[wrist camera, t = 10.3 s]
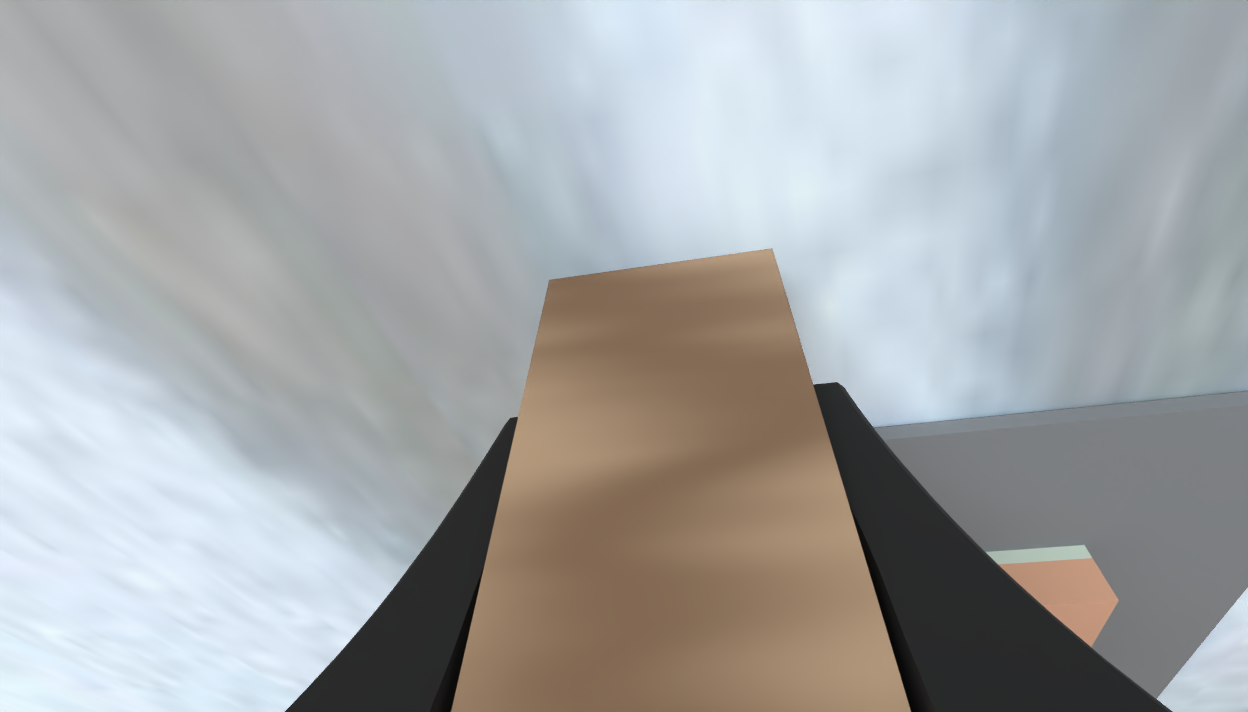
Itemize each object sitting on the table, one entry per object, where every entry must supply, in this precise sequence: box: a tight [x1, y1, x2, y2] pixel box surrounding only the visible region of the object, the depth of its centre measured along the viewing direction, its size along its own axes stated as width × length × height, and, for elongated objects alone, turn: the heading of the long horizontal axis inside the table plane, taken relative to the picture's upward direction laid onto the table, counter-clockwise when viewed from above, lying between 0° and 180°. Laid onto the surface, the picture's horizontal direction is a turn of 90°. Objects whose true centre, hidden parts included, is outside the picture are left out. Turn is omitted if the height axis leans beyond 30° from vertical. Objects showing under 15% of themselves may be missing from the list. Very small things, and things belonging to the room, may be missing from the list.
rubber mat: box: [874, 391, 1248, 698], centre depth 19 cm, size 16×16×1 cm
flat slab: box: [986, 545, 1119, 647], centre depth 19 cm, size 6×2×9 cm
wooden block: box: [451, 249, 911, 712], centre depth 9 cm, size 4×4×9 cm
